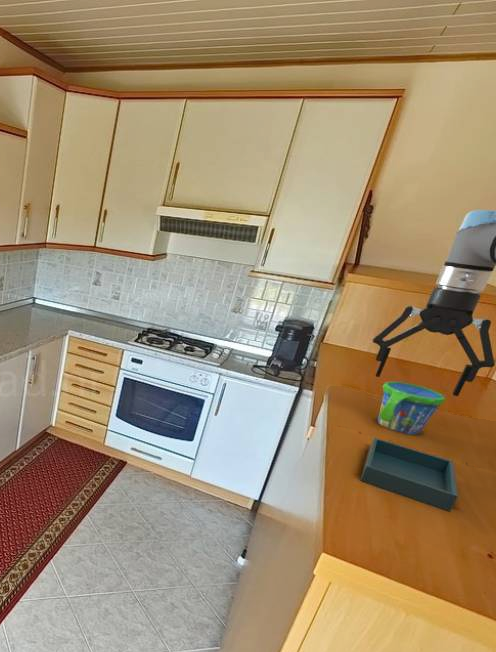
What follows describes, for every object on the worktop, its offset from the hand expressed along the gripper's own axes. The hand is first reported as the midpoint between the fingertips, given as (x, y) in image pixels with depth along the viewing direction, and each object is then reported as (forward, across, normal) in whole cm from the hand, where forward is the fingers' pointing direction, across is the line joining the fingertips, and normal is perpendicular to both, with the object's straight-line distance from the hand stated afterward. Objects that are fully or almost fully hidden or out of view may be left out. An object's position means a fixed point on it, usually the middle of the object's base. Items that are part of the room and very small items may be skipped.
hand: (415, 384), depth 108 cm
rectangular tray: (+11, +2, -29) cm, 31 cm away
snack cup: (+11, 0, 0) cm, 11 cm away
